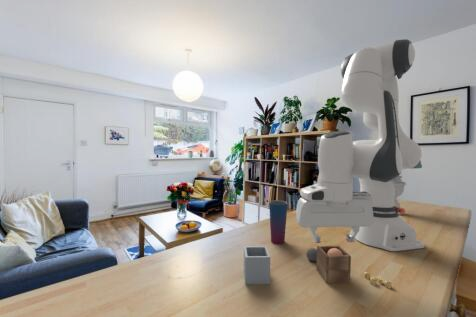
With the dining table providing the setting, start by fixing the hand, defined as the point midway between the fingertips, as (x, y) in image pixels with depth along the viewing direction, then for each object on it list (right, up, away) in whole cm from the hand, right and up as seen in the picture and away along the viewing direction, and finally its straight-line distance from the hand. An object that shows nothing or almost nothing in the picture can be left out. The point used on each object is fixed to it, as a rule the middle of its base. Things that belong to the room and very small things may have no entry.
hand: (333, 241), depth 61 cm
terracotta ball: (0, -5, +1) cm, 5 cm away
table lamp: (+61, -8, +64) cm, 89 cm away
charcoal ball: (-2, -10, +9) cm, 13 cm away
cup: (-11, -9, +24) cm, 28 cm away
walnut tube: (0, -10, 0) cm, 10 cm away
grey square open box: (-21, -10, 0) cm, 23 cm away
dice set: (+10, -11, -2) cm, 15 cm away
